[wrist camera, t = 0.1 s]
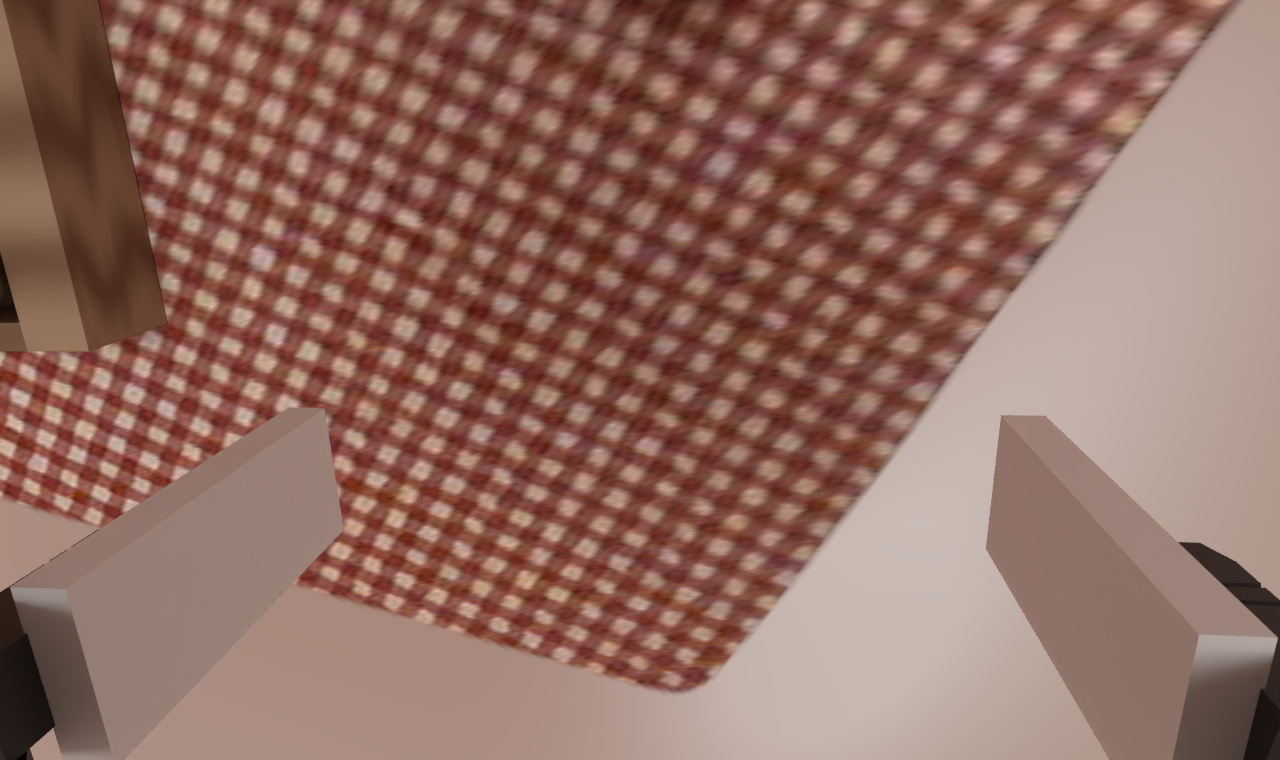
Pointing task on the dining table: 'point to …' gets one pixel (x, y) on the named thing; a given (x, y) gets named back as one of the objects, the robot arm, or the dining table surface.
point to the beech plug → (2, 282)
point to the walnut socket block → (67, 187)
